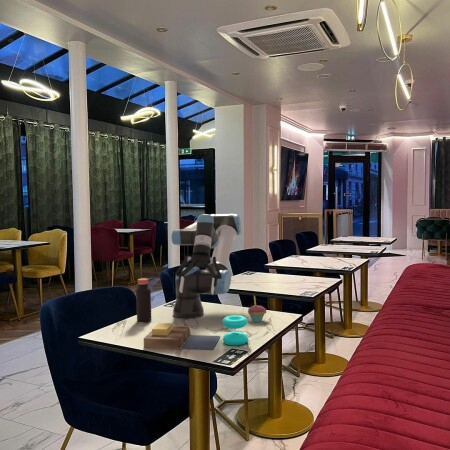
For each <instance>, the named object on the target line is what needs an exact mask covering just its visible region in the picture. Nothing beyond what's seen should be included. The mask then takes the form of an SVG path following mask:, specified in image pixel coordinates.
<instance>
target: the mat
mask: <svg viewBox="0 0 450 450" xmlns="http://www.w3.org/2000/svg"><path fill="white" fill-rule="evenodd" d="M220 338H221V335H206V334H205V335H204V334H202V335H201V334H200V335H199V334H190V336H189V338H188V339H187V340H186V341H185V343H184V344H183V345H182V347H181V348H180V349H181V350H205V351H207V350H208V351H213V350H214V349H215V347H216V345H217V343H218V342H219V340H220Z"/></svg>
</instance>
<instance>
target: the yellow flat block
mask: <svg viewBox="0 0 450 450" xmlns="http://www.w3.org/2000/svg"><path fill="white" fill-rule="evenodd" d="M173 326H174V323H173V322H158V323H157V324H155V326H154V327H152V328H151V331H152V335H168V334H169V333H170V332H171V330H172V329H173Z"/></svg>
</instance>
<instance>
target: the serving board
mask: <svg viewBox="0 0 450 450" xmlns="http://www.w3.org/2000/svg"><path fill="white" fill-rule="evenodd" d="M190 335H191V326H190V325H173V329H172V330H171V332H170V333H169V334H168V335H152V330H151V331H150V332H149V333H147V334H146V335H145V336H144V337H143V349H144V348H153V349H152V350H173V351H174V350H175V351H176V350H179V351H180V349H181V347H182V346H183V344H184V343H185V342H186V340H187V339H188V338H189V337H190Z"/></svg>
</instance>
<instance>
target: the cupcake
mask: <svg viewBox="0 0 450 450" xmlns="http://www.w3.org/2000/svg"><path fill="white" fill-rule="evenodd" d="M253 301H254V302H253V303H254V305H252V306H250V307H249V308H248V310H247V313H248V315H249V316H250V320H251V322H253V323H260V322H263V318H264V316H265V315H266V314H267V308H265V307H264V306H263V305H257V302H256V296H255V295H253Z"/></svg>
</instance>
